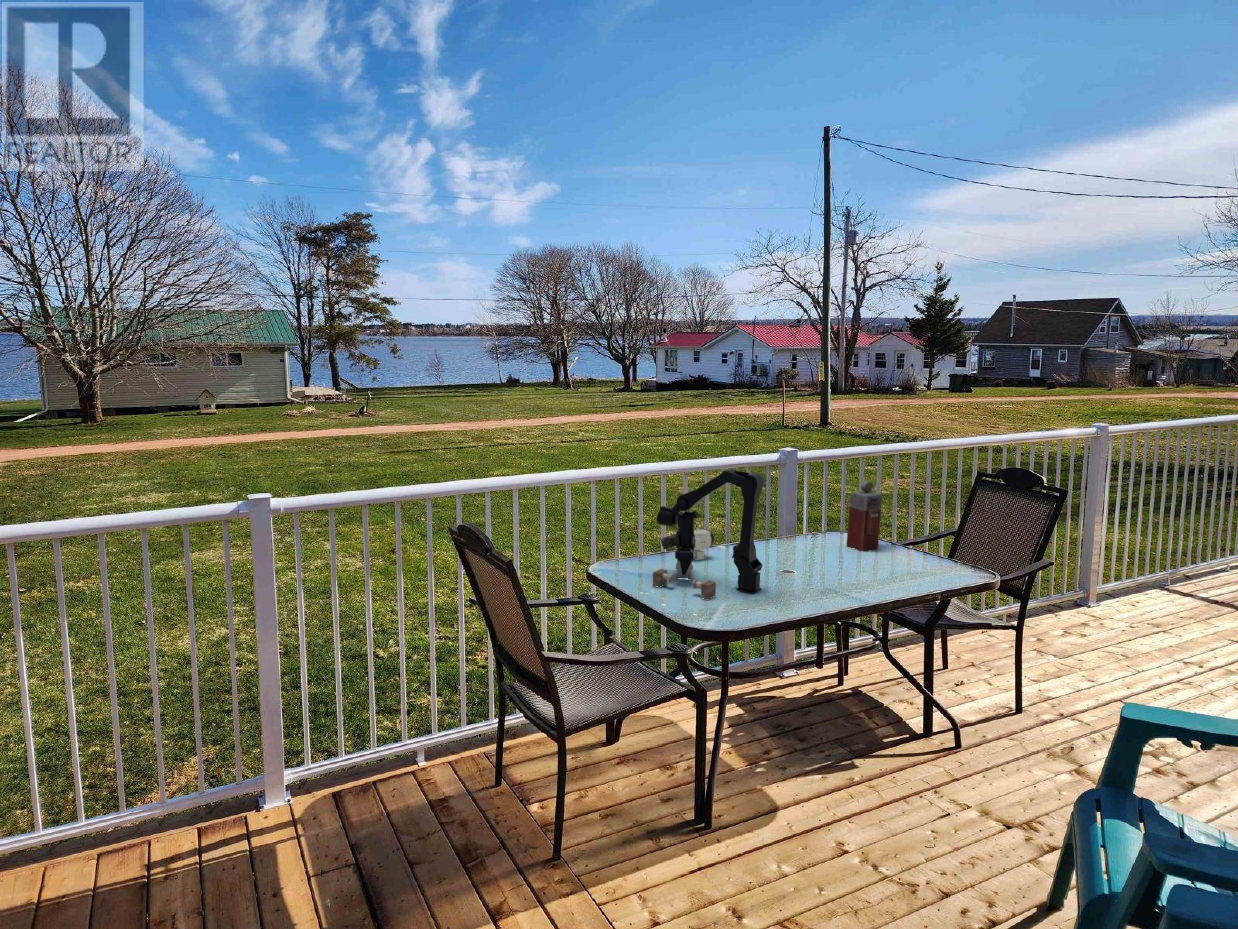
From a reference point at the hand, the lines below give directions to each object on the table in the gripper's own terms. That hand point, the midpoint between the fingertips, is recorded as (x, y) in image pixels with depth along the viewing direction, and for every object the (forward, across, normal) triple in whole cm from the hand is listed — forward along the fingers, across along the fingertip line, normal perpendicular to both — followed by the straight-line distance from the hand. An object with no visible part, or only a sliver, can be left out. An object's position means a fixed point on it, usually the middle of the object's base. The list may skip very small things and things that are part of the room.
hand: (684, 572), depth 271 cm
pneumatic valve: (+2, -24, +4) cm, 24 cm away
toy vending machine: (+2, -54, +72) cm, 90 cm away
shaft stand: (+2, +15, 0) cm, 15 cm away
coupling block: (+2, 0, 0) cm, 2 cm away
